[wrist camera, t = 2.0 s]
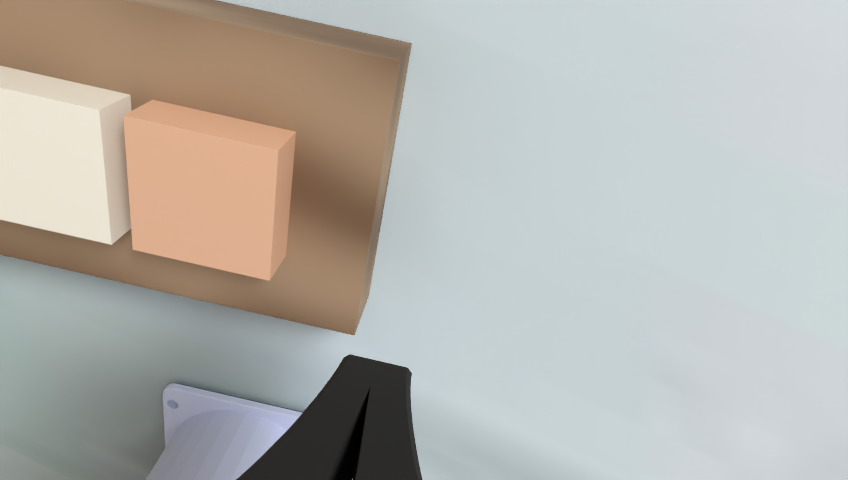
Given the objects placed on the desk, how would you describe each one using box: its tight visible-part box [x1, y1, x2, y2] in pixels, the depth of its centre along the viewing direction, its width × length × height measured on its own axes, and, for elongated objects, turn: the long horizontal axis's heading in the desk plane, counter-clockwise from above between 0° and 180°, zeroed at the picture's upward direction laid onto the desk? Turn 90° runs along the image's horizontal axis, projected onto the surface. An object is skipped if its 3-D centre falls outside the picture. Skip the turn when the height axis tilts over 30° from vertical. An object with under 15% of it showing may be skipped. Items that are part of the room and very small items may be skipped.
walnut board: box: [0, 0, 412, 335], centre depth 20 cm, size 10×15×2 cm, turn 79°
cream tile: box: [0, 66, 131, 245], centre depth 19 cm, size 4×4×2 cm
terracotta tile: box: [123, 100, 296, 281], centre depth 19 cm, size 4×4×2 cm
